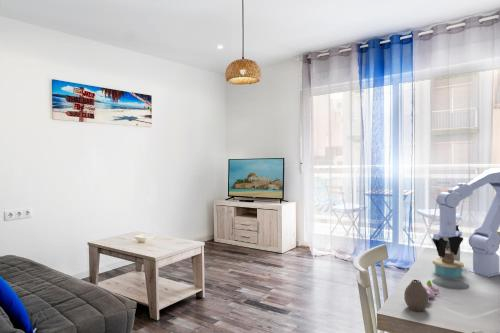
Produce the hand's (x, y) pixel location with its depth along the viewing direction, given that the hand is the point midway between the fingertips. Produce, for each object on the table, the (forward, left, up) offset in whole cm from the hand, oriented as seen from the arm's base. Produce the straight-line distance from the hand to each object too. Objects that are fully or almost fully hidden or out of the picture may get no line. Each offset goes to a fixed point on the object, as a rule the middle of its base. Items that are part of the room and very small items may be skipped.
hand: (447, 255), depth 139 cm
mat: (+10, +8, -8) cm, 15 cm away
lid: (0, 0, -3) cm, 4 cm away
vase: (+39, +17, -8) cm, 43 cm away
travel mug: (-17, -11, -8) cm, 22 cm away
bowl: (0, 0, -8) cm, 8 cm away
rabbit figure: (+28, +12, -8) cm, 32 cm away
